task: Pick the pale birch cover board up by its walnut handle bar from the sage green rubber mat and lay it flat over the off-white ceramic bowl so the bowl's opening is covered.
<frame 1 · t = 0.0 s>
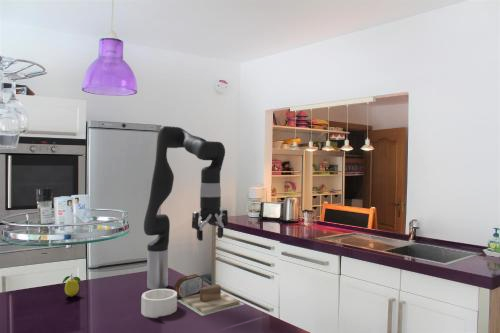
hand: (210, 239, 146), 29 cm above the countertop, tool pointing down, fingers open, 8 cm apart
cover board: (210, 302, 160), point 1 cm above the countertop, touching mat
bowl: (159, 311, 152), on the countertop
lemon: (71, 297, 167), on the countertop
tin: (189, 296, 170), on the countertop
mat: (210, 303, 160), on the countertop
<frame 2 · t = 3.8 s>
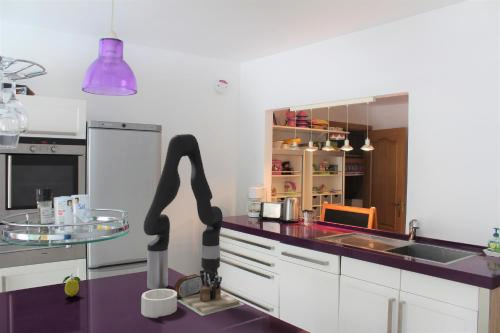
hand: (210, 297, 160), 2 cm above the countertop, tool pointing down, fingers closed on cover board, 3 cm apart
cover board: (210, 302, 160), point 1 cm above the countertop, touching gripper, mat
everything else where it was.
when the fingers open (10 cm above the countertop, at t = 9.5 s): cover board drops 1 cm, resting on bowl.
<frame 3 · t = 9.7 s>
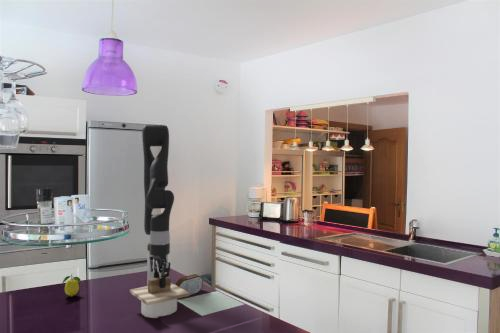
hand: (159, 285, 152), 10 cm above the countertop, tool pointing down, fingers open, 4 cm apart
cover board: (159, 294, 152), point 6 cm above the countertop, touching bowl
everything else where it was.
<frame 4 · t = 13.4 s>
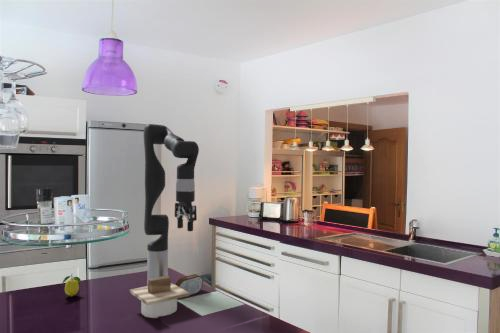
hand: (185, 229, 161), 30 cm above the countertop, tool pointing down, fingers open, 8 cm apart
nothing on the countertop moved.
at the end: cover board 0.1 cm off-centre on the bowl, point 6.5 cm above the bowl's base; cover board tilted 0°; the gripper is holding nothing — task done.
